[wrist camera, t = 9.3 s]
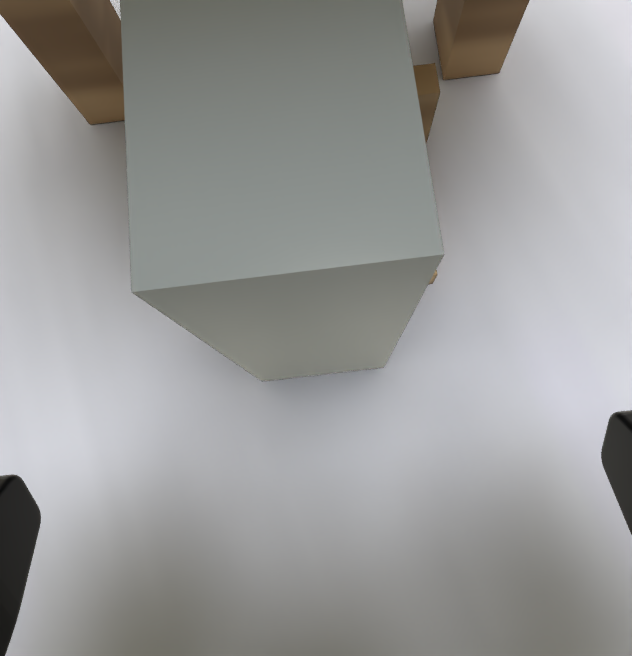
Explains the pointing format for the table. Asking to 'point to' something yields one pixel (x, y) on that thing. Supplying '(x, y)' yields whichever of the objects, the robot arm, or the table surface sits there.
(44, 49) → the wooden frame
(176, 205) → the slab
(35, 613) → the table surface
